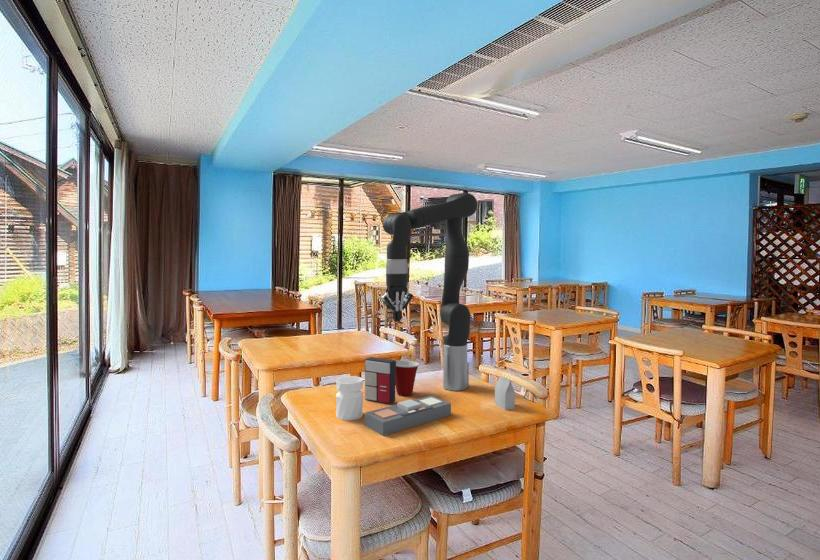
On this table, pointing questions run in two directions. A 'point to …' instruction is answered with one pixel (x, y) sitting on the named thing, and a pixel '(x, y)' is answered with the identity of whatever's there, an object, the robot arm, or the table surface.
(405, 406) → the grey key
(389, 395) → the red and grey box
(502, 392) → the pale grey block
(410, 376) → the plastic cup
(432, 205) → the robot arm
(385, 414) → the terracotta key
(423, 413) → the keypad housing
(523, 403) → the table surface
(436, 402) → the cream key
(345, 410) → the vase
